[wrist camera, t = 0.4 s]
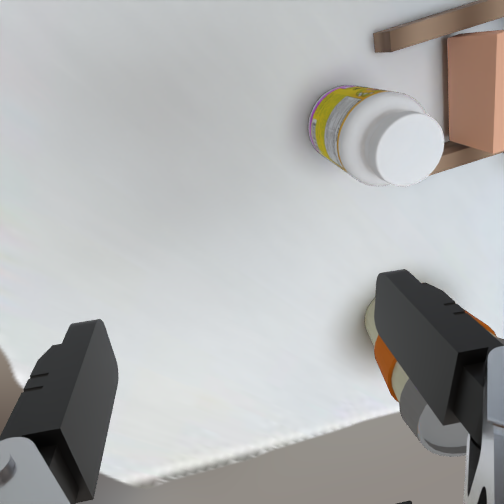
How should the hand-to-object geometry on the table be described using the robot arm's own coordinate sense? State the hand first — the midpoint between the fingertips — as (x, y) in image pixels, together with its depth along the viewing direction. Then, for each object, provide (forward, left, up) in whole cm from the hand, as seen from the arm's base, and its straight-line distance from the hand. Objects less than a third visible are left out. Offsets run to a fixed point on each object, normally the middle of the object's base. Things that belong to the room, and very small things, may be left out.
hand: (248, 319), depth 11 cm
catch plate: (-13, +19, -26) cm, 35 cm away
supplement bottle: (-7, +11, -27) cm, 30 cm away
